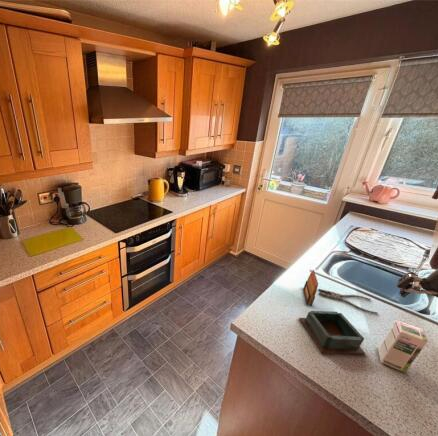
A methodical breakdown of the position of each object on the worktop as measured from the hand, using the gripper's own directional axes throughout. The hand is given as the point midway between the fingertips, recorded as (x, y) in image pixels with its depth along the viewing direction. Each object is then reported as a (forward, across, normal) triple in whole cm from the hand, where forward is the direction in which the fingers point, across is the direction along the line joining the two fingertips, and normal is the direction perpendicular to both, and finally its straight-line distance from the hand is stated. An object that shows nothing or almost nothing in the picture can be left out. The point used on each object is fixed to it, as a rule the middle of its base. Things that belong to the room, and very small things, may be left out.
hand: (422, 302), depth 67 cm
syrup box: (+21, -2, +13) cm, 25 cm away
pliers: (+32, +11, -7) cm, 35 cm away
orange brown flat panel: (+29, +24, 0) cm, 38 cm away
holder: (+20, +14, +15) cm, 29 cm away
